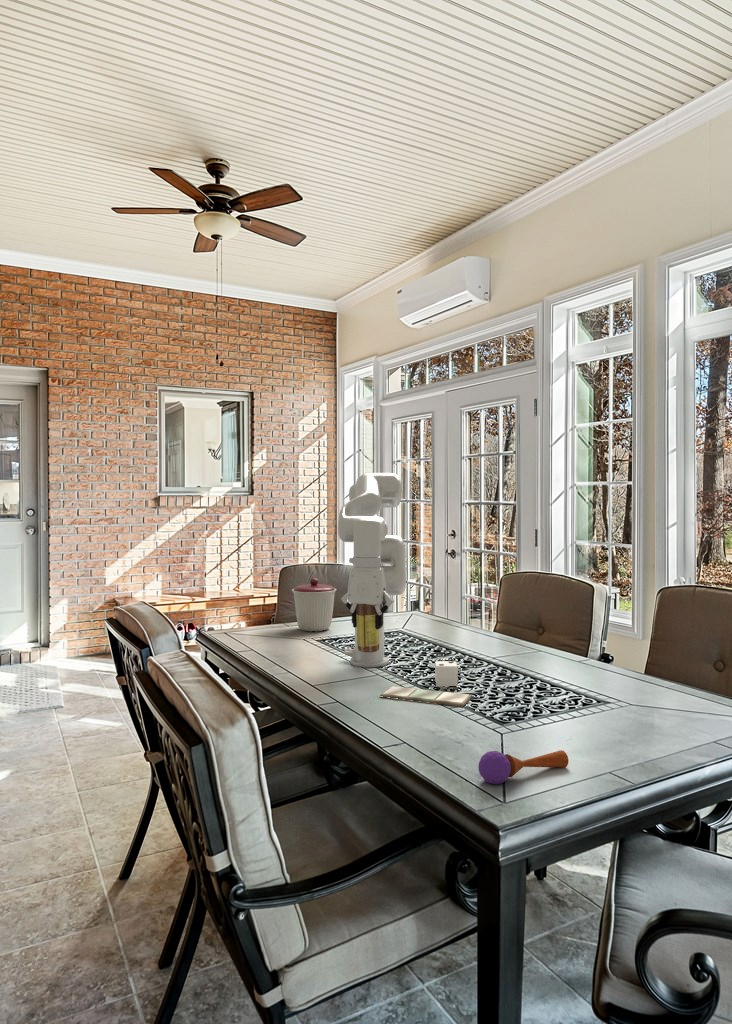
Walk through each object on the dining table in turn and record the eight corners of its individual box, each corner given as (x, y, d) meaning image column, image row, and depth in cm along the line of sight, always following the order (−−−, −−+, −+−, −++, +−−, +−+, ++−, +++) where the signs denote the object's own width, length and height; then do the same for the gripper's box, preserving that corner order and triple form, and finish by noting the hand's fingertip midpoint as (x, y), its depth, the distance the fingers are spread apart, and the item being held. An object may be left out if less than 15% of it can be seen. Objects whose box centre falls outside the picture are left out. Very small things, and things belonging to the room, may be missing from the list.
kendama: (575, 752, 136) (494, 762, 127) (570, 780, 137) (488, 792, 128) (555, 737, 141) (475, 746, 132) (549, 764, 142) (470, 775, 133)
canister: (318, 635, 270) (318, 581, 269) (283, 630, 280) (282, 578, 279) (345, 628, 285) (345, 577, 285) (310, 623, 295) (310, 574, 294)
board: (379, 697, 187) (379, 694, 187) (391, 688, 195) (391, 685, 195) (463, 706, 178) (463, 703, 178) (471, 697, 186) (471, 694, 186)
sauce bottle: (382, 648, 194) (382, 578, 193) (375, 654, 188) (375, 581, 187) (360, 646, 196) (360, 577, 195) (352, 652, 190) (353, 580, 189)
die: (436, 687, 197) (436, 665, 197) (435, 681, 203) (435, 660, 203) (457, 687, 197) (457, 665, 196) (455, 681, 203) (455, 660, 202)
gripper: (333, 563, 191) (333, 627, 192) (391, 566, 184) (391, 632, 185) (344, 560, 198) (344, 622, 199) (401, 562, 191) (401, 627, 192)
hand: (367, 626), depth 192 cm, fingers closed on sauce bottle, 6 cm apart
